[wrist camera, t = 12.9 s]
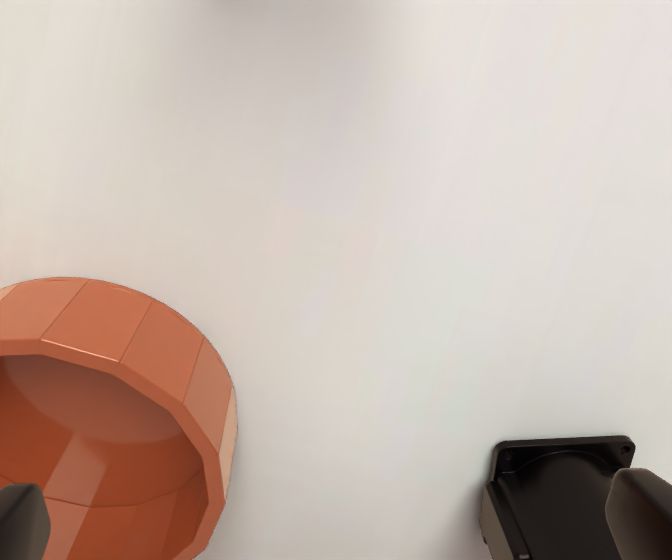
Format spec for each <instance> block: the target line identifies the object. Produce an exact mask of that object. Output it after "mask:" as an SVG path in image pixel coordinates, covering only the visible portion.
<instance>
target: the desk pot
mask: <svg viewBox="0 0 672 560" xmlns="http://www.w3.org/2000/svg"><path fill="white" fill-rule="evenodd" d="M236 434H237V418H236V398H235V393H234V388H233V384H232V381H231V379H230V376H229V373H228V370H227V369H226V367H225V365H224V363H223V361H222V359H221V357H220V355H219V354H218V353H217V351H216V350H215V349H214V347H213V346H212V344H211V343H210V342H209V340H208V339H207V338H206V337H205V336H204V335H203V334H202V333H201V332H200V331H199V330H198V329H197V328H196V327H195V326H194V325H193V324H191V323H190V322H189V321H188V320H187V319H185V318H184V317H183V316H182V315H181V314H179V313H177V312H176V311H174V310H173V309H171V308H170V307H168V306H167V305H165V304H164V303H162V302H160V301H158V300H156V299H154V298H152V297H150V296H148V295H146V294H143V293H141V292H138V291H135V290H133V289H130V288H127V287H125V286H121V285H117V284H113V283H109V282H105V281H100V280H93V279H86V278H72V277H55V278H43V279H35V280H30V281H26V282H21V283H17V284H14V285H11V286H8V287H5V288H3V289H0V489H2V488H3V487H5V486H6V485H8V484H12V483H36V484H38V485H39V486H40V488H41V490H42V493H43V497H44V500H45V503H46V507H47V510H48V514H49V517H50V522H51V531H50V536H49V540H48V543H47V546H46V549H45V552H44V555H43V558H42V560H192V559H194V558H195V557H196V556H197V555H198V554H200V553H201V552H202V551H203V550H204V549H205V548H206V547H207V545H208V543H209V541H210V539H211V536H212V534H213V532H214V529H215V527H216V525H217V522H218V520H219V518H220V516H221V513H222V511H223V509H224V506H225V502H226V496H227V490H228V483H229V477H230V471H231V465H232V459H233V452H234V446H235V440H236Z"/></svg>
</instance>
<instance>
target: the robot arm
mask: <svg viewBox="0 0 672 560" xmlns="http://www.w3.org/2000/svg"><path fill="white" fill-rule="evenodd" d="M635 447H636V446H635V444H634V443H633V442H632V440H631V439H630V438H629V437H627V436H623V435H622V436H600V437H578V438H556V439H534V440H512V441H503V442H501V443H499V444H498V445H497V446H496V447H495V450H494V456H493V462H492V469H491V475H490V481H488V482H487V483H486V485H485V486H484V493H483V499H482V506H481V512H480V519H479V522H480V525H481V528H482V532H481V533H482V537H483V540H484V542H485V544H487V545H488V548H489V550H490V553H491V556H492V559H493V560H672V485H671V484H669V483H668V482H666V481H665V480H663V479H661V478H660V477H658V476H657V475H655V474H654V473H652V472H651V471H649V470H647V469H644V468H630V465H631V462H632V459H633V455H634V452H635ZM507 451H509V452H507ZM505 452H507V453H505ZM50 531H51V522H50V517H49V514H48V510H47V507H46V503H45V500H44V497H43V493H42V490H41V488H40V486H39V485H38V484H36V483H12V484H8V485H6V486H5V487H3V488H2V489H0V560H42V558H43V555H44V552H45V549H46V546H47V543H48V540H49V536H50Z"/></svg>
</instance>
